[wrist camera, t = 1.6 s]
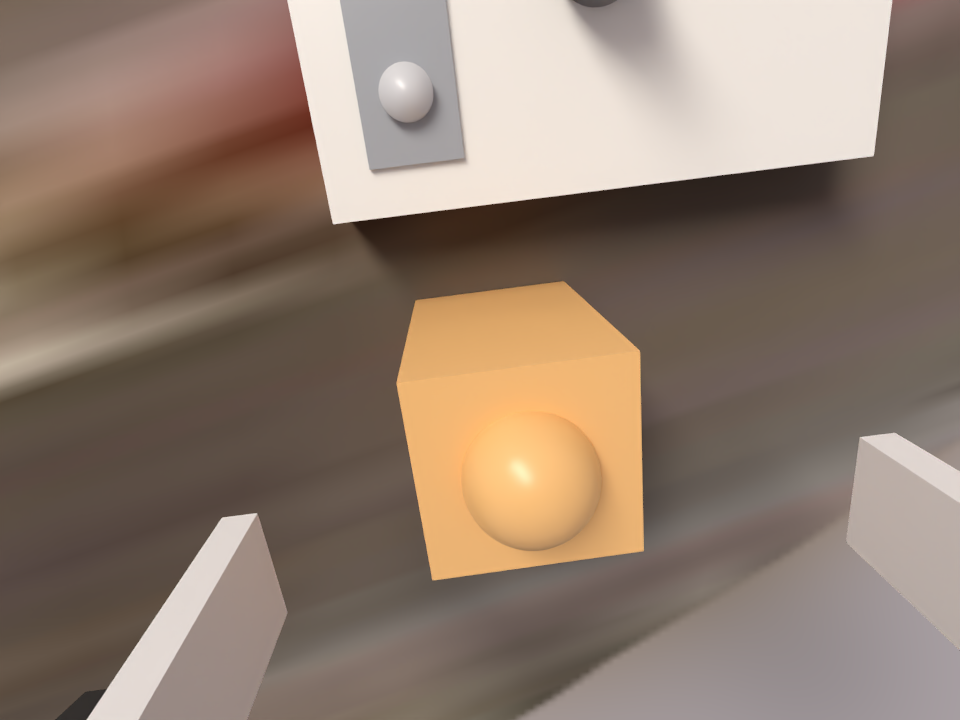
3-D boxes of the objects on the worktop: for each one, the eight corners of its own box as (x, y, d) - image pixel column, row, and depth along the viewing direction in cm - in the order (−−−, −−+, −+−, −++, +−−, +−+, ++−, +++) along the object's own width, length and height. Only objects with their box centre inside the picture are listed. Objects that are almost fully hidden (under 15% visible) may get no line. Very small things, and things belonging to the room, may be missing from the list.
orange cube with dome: (437, 433, 24) (431, 638, 13) (415, 300, 22) (388, 418, 11) (572, 415, 24) (671, 604, 13) (563, 281, 22) (672, 380, 11)
